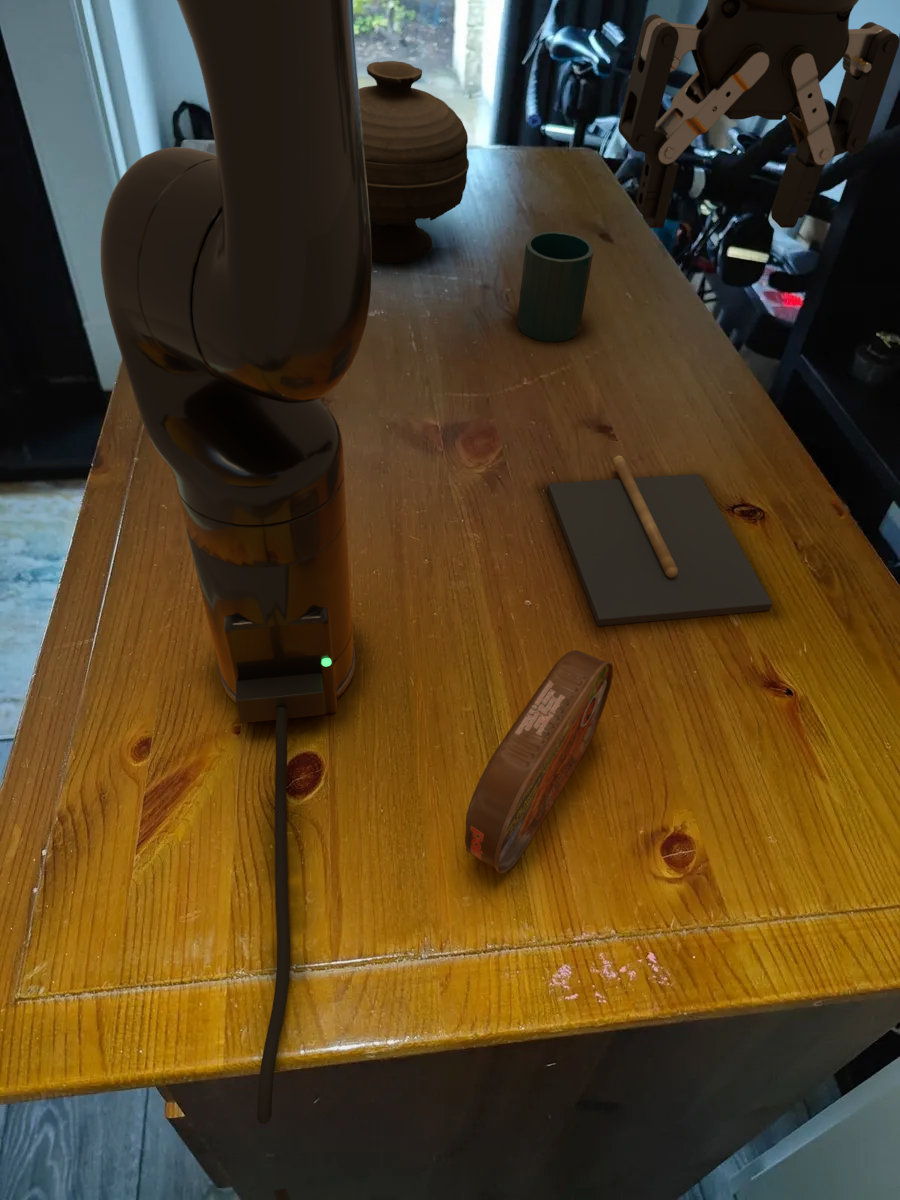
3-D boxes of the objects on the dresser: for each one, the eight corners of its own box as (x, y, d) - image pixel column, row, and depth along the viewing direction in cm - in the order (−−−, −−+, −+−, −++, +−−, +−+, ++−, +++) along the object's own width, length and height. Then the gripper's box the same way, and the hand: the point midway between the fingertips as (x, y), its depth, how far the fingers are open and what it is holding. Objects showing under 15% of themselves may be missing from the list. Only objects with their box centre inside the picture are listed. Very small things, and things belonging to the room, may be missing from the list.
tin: (495, 899, 49) (510, 828, 43) (449, 870, 50) (457, 797, 44) (605, 720, 58) (630, 640, 52) (564, 699, 59) (584, 618, 53)
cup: (586, 340, 92) (601, 260, 86) (524, 343, 91) (534, 262, 85) (570, 309, 97) (583, 230, 90) (510, 311, 96) (519, 231, 89)
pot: (495, 232, 108) (499, 55, 93) (417, 297, 99) (407, 112, 83) (381, 199, 114) (367, 28, 99) (298, 257, 105) (268, 78, 89)
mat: (769, 610, 66) (773, 603, 65) (597, 626, 64) (599, 619, 63) (696, 480, 76) (699, 473, 76) (546, 490, 74) (548, 483, 74)
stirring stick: (681, 575, 66) (648, 419, 68) (668, 576, 66) (636, 421, 68) (649, 598, 73) (621, 457, 76) (638, 599, 73) (610, 458, 76)
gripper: (702, -116, 37) (625, 251, 48) (994, -100, 39) (852, 249, 51) (649, -139, 42) (590, 199, 54) (909, -123, 44) (798, 198, 56)
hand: (717, 223), depth 52 cm, fingers open, 8 cm apart
